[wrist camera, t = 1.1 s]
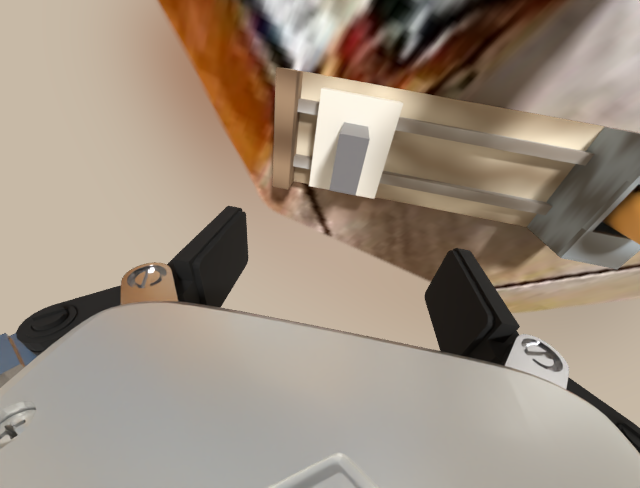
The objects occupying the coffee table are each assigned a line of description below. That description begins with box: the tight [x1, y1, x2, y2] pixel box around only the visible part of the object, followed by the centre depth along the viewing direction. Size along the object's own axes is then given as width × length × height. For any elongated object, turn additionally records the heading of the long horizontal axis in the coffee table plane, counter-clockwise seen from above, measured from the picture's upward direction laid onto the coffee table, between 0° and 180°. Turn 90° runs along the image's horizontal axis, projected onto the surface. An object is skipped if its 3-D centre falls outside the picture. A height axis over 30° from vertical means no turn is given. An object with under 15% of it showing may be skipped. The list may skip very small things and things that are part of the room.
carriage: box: [309, 87, 403, 199], centre depth 24 cm, size 10×8×8 cm
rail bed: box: [272, 67, 640, 269], centre depth 26 cm, size 12×39×8 cm, turn 82°
